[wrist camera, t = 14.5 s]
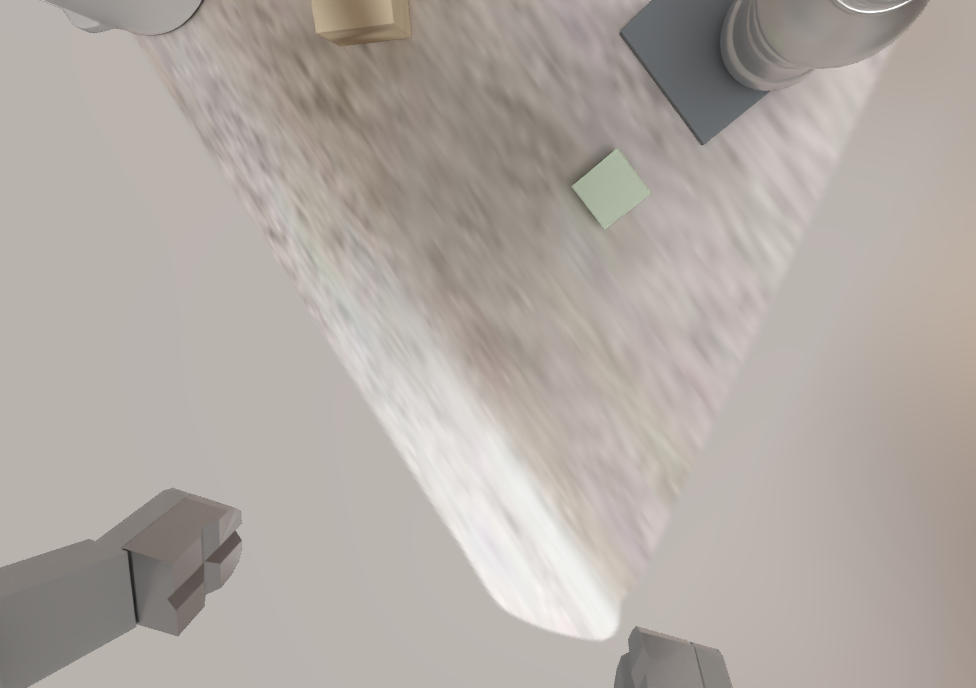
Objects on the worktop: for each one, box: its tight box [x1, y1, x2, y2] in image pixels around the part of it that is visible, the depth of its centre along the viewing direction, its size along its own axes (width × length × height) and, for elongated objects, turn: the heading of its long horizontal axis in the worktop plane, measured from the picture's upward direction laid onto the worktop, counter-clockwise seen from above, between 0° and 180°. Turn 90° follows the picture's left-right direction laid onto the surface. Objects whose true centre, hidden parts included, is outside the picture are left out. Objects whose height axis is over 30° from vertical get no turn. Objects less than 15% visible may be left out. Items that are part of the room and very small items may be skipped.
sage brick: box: [572, 148, 651, 230], centre depth 36 cm, size 4×4×4 cm
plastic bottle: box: [720, 0, 930, 91], centre depth 23 cm, size 6×7×20 cm
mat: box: [620, 0, 769, 145], centre depth 33 cm, size 10×10×1 cm
